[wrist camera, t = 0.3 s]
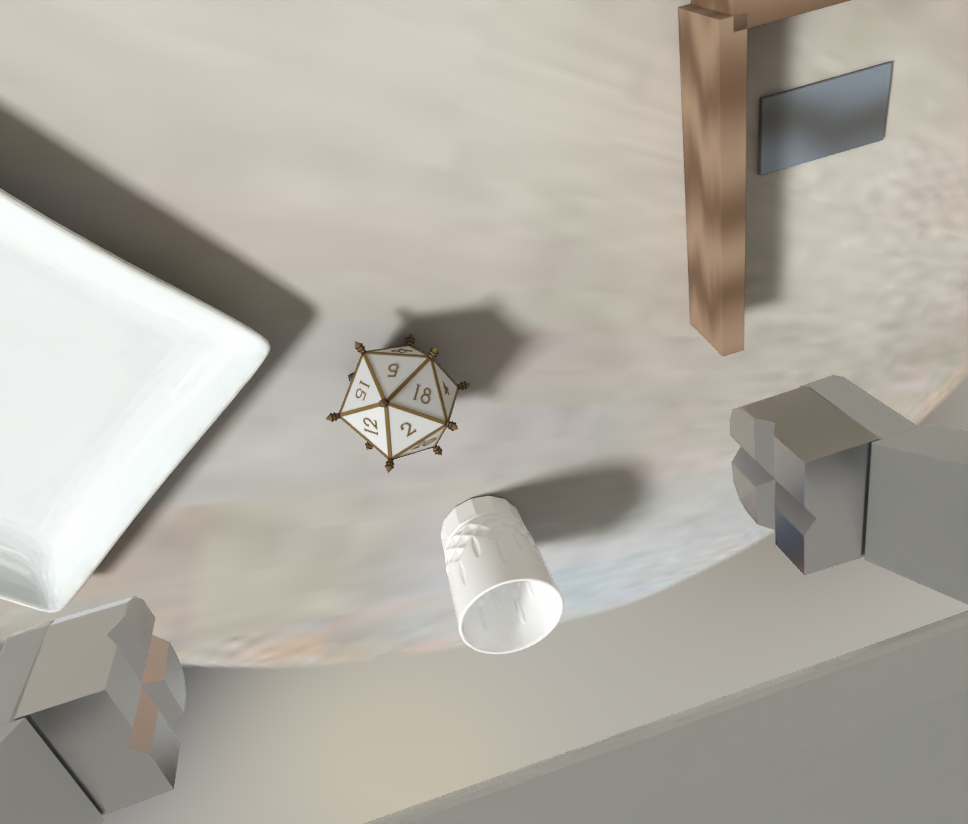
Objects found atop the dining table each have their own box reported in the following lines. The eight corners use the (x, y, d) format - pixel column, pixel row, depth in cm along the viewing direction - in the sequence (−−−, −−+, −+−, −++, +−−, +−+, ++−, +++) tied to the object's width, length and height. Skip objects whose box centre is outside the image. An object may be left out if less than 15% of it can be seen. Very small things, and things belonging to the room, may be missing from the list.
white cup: (471, 475, 61) (503, 565, 53) (544, 509, 65) (584, 597, 57) (414, 543, 63) (437, 639, 55) (488, 571, 67) (519, 664, 59)
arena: (677, -8, 44) (719, 3, 40) (1027, -102, 46) (1100, -100, 42) (690, 323, 58) (722, 356, 54) (961, 240, 59) (1012, 266, 55)
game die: (408, 331, 57) (517, 377, 51) (367, 439, 57) (470, 494, 52) (325, 301, 49) (443, 351, 44) (278, 425, 50) (389, 488, 45)
